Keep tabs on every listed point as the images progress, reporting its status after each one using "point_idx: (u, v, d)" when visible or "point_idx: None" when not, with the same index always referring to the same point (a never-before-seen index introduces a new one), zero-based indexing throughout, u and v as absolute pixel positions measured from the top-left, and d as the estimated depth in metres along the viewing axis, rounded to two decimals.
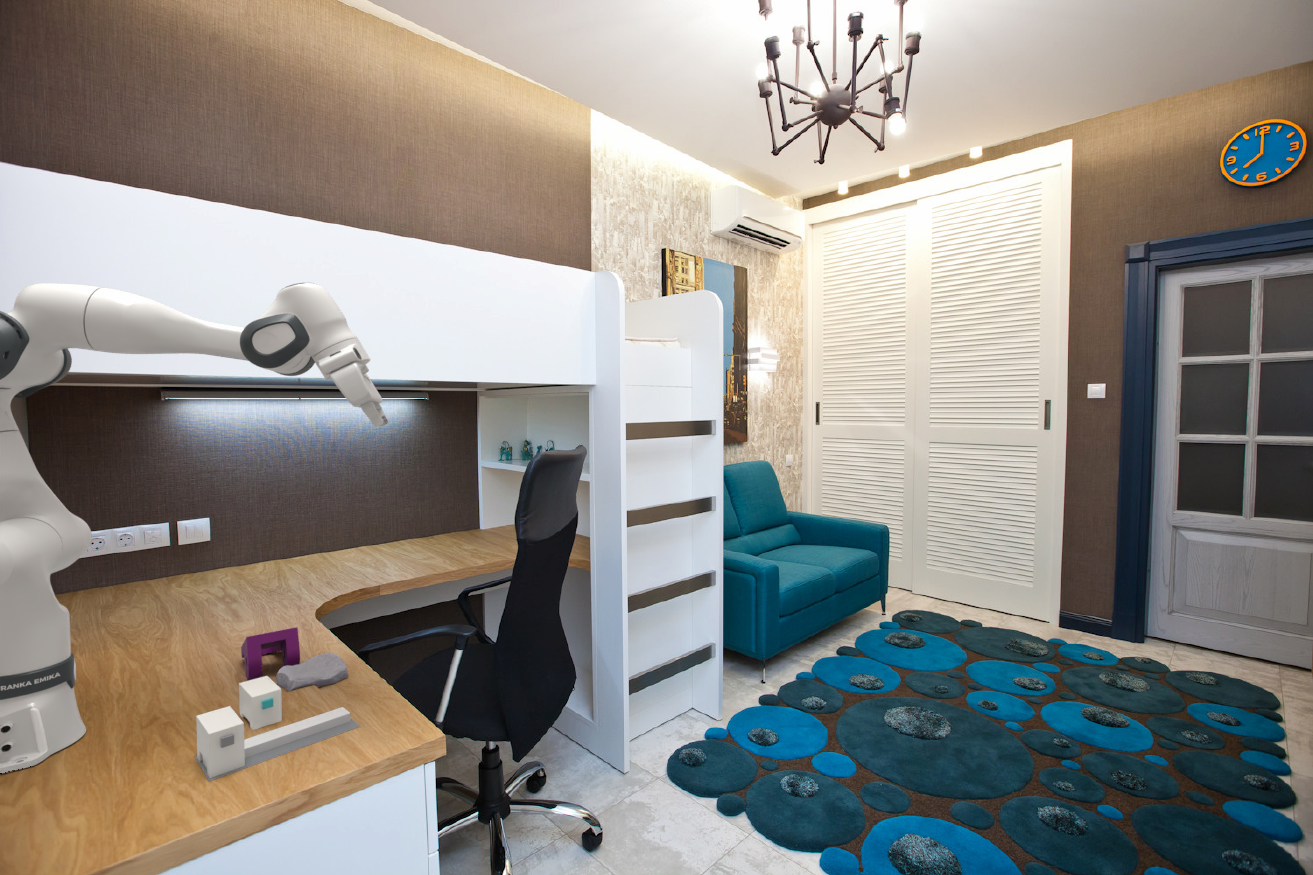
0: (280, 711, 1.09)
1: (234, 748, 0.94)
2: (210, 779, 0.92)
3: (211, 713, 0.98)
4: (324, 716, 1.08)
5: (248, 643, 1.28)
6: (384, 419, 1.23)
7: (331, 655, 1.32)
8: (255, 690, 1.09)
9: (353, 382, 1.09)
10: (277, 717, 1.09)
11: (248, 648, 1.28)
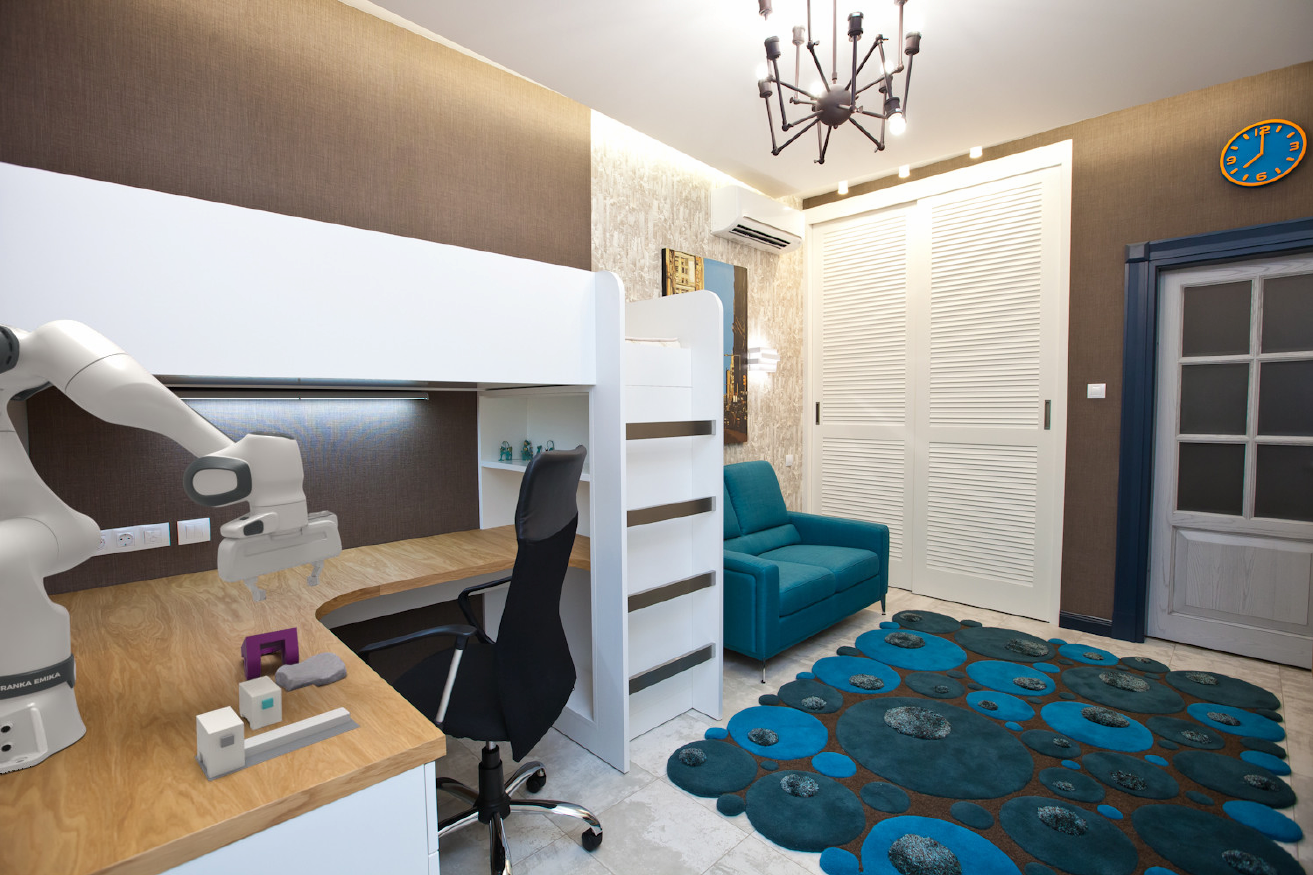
0: (280, 711, 1.09)
1: (234, 748, 0.94)
2: (210, 779, 0.92)
3: (211, 713, 0.98)
4: (324, 716, 1.08)
5: (247, 643, 1.28)
6: (310, 581, 1.15)
7: (330, 654, 1.33)
8: (255, 690, 1.09)
9: (223, 560, 1.03)
10: (277, 717, 1.09)
11: (247, 648, 1.28)
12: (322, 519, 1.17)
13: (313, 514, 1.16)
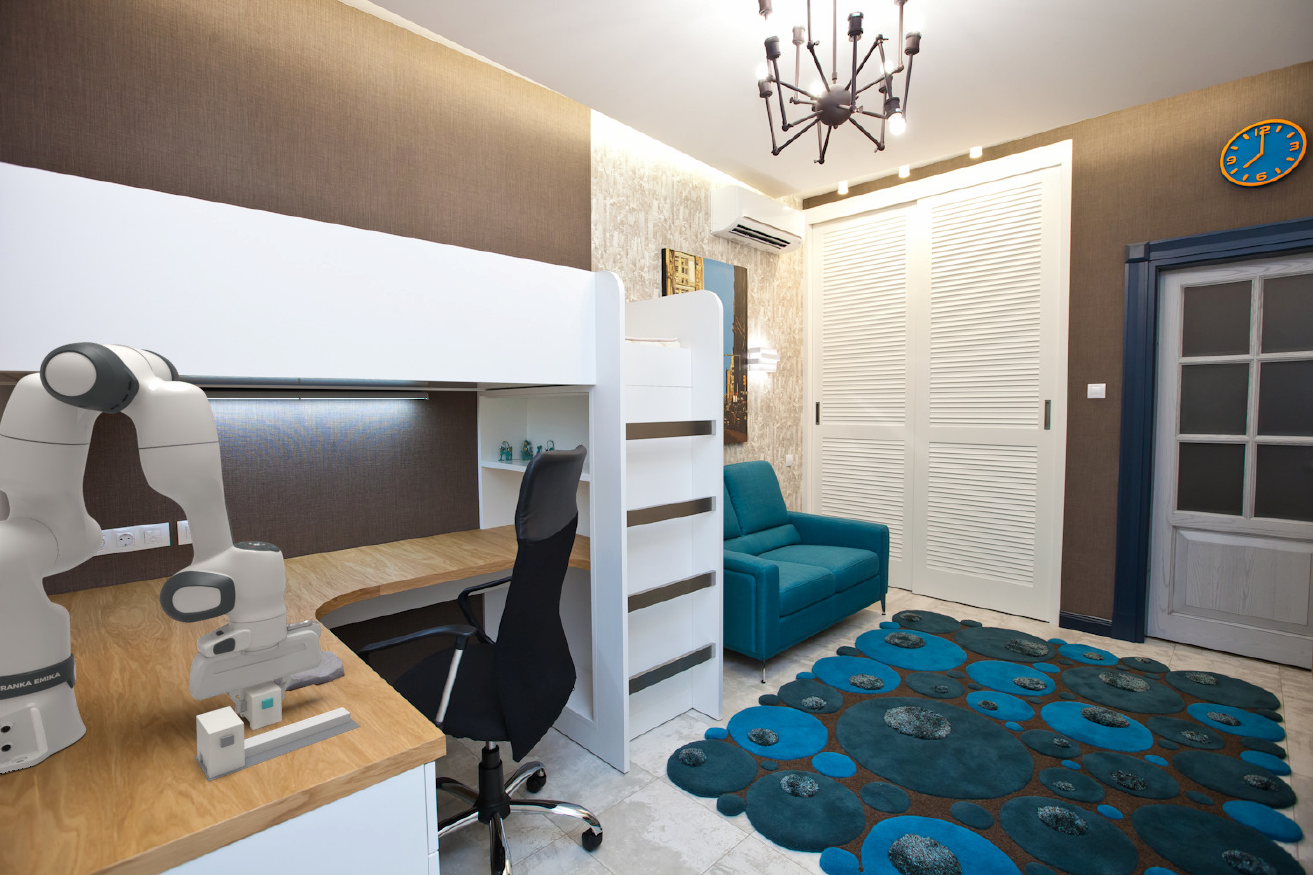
0: (280, 711, 1.09)
1: (234, 748, 0.94)
2: (210, 779, 0.92)
3: (211, 713, 0.98)
4: (324, 716, 1.08)
5: None
6: None
7: (327, 653, 1.33)
8: (254, 690, 1.09)
9: (192, 677, 1.03)
10: (277, 717, 1.09)
11: None
12: (304, 629, 1.15)
13: (294, 625, 1.14)
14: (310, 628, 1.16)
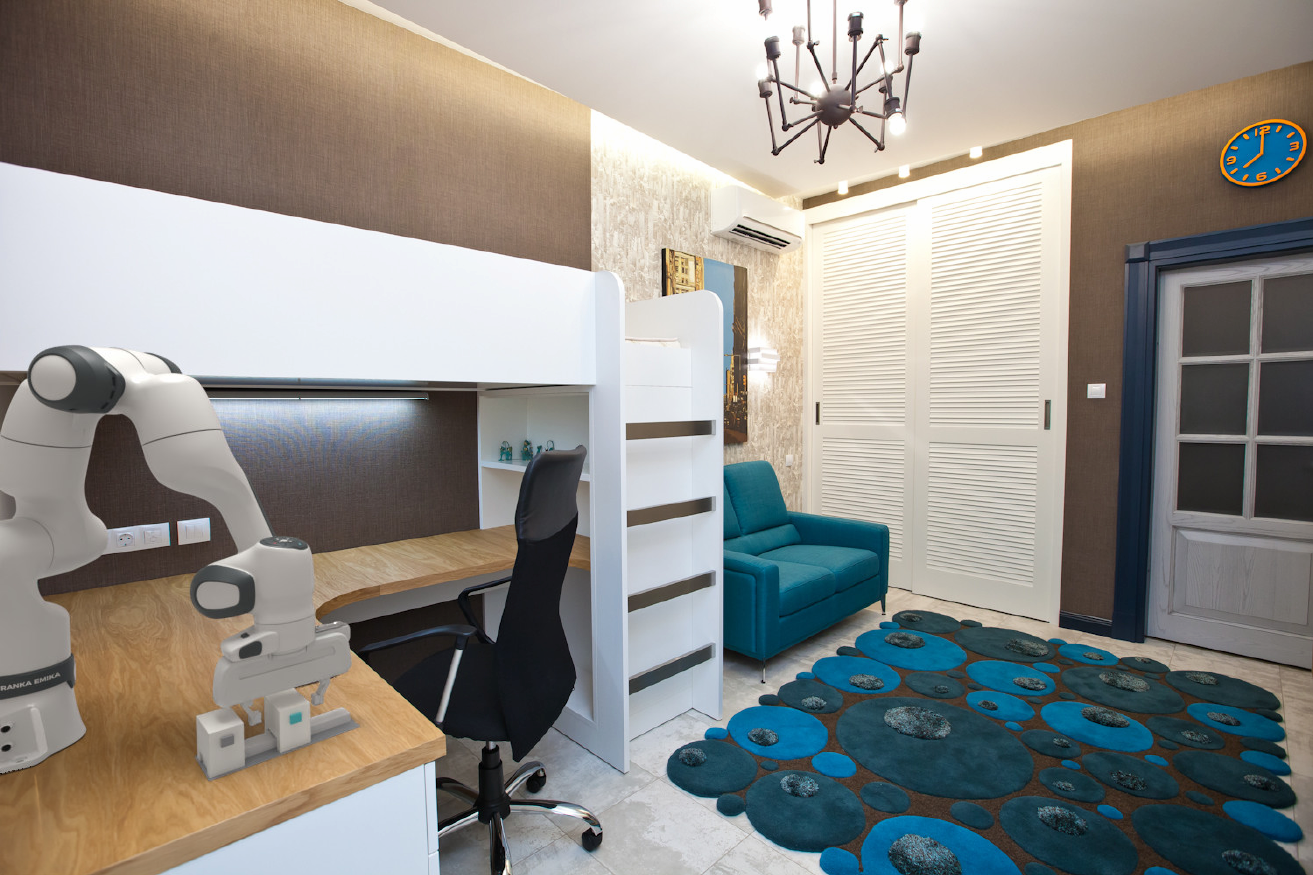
0: (308, 726, 1.02)
1: (234, 748, 0.94)
2: (210, 779, 0.92)
3: (211, 713, 0.98)
4: (324, 716, 1.08)
5: None
6: (314, 700, 1.06)
7: None
8: (281, 703, 1.01)
9: (216, 683, 0.95)
10: (305, 732, 1.02)
11: None
12: (333, 631, 1.08)
13: (323, 626, 1.07)
14: (339, 630, 1.09)
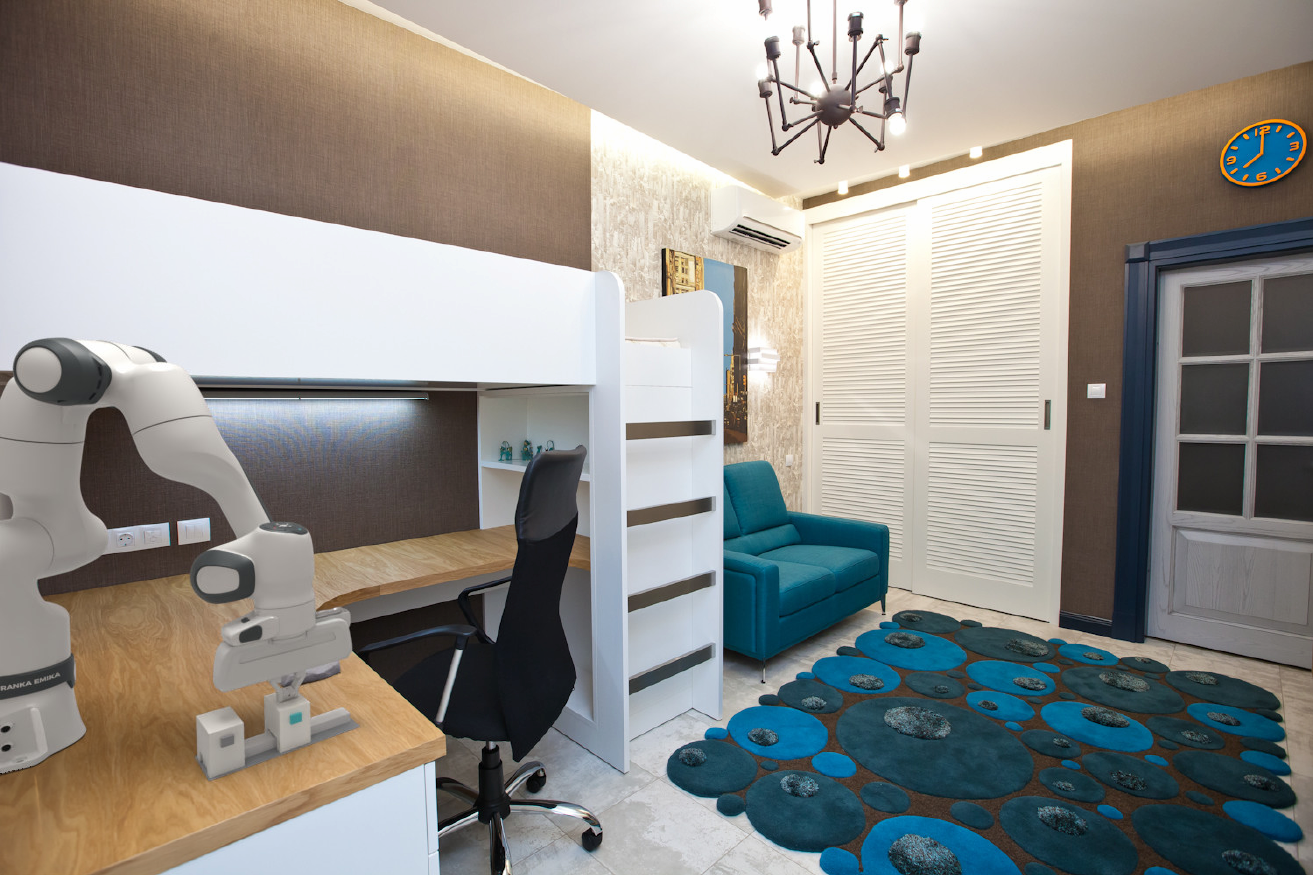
0: (308, 726, 1.02)
1: (234, 748, 0.94)
2: (210, 779, 0.92)
3: (211, 713, 0.98)
4: (324, 716, 1.08)
5: None
6: (288, 693, 1.03)
7: None
8: (282, 703, 1.01)
9: (217, 667, 0.95)
10: (305, 732, 1.02)
11: None
12: (333, 617, 1.08)
13: (323, 612, 1.07)
14: (339, 616, 1.09)
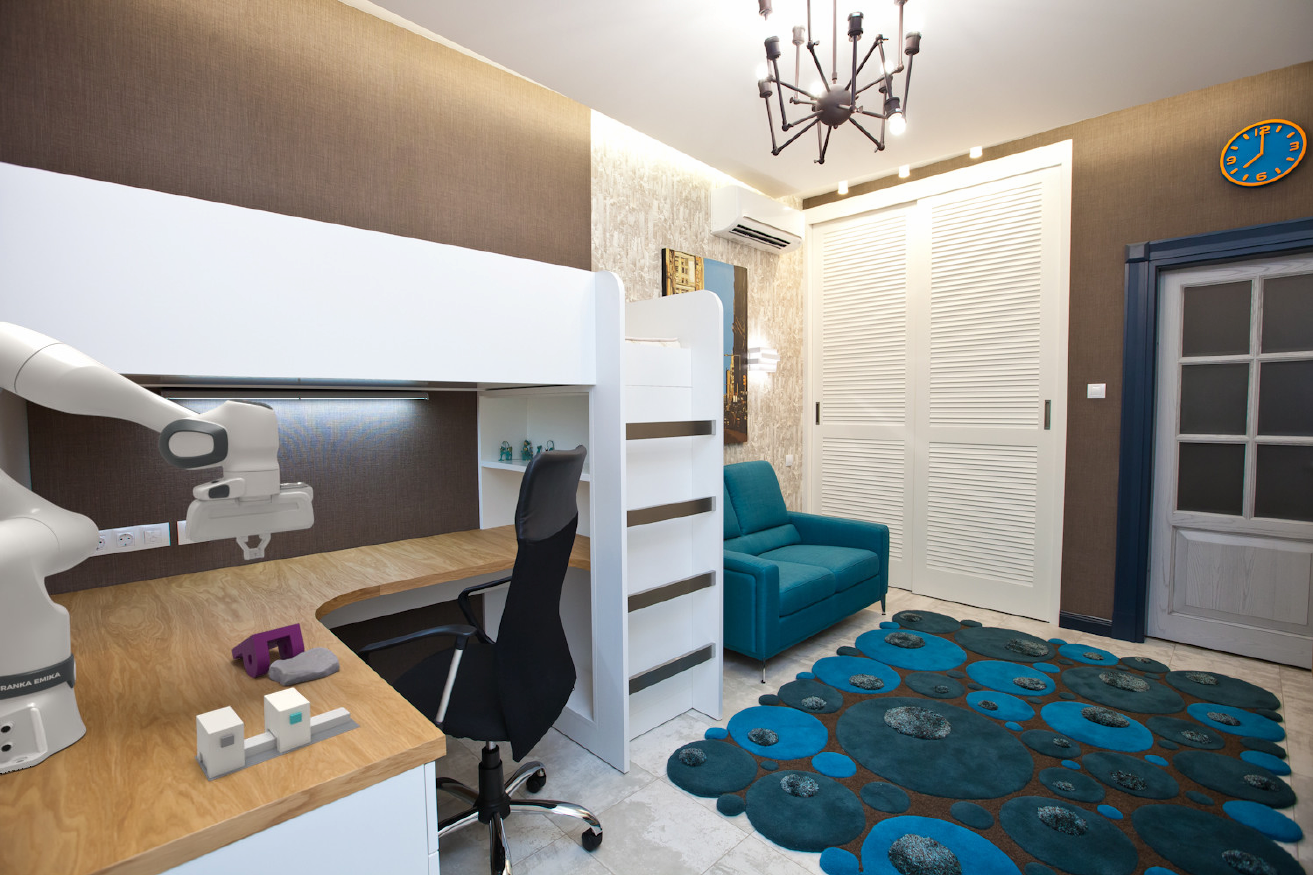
0: (308, 726, 1.02)
1: (234, 748, 0.94)
2: (210, 779, 0.92)
3: (211, 713, 0.98)
4: (324, 716, 1.08)
5: (254, 640, 1.30)
6: (255, 553, 1.14)
7: (322, 649, 1.36)
8: (281, 703, 1.01)
9: (188, 520, 1.07)
10: (305, 732, 1.02)
11: (255, 645, 1.29)
12: (296, 490, 1.19)
13: (287, 484, 1.18)
14: (302, 490, 1.20)
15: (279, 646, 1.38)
